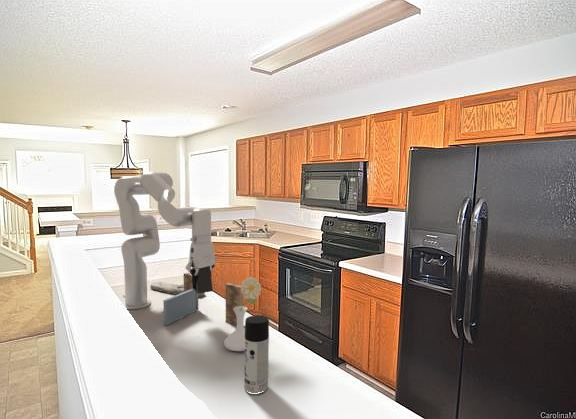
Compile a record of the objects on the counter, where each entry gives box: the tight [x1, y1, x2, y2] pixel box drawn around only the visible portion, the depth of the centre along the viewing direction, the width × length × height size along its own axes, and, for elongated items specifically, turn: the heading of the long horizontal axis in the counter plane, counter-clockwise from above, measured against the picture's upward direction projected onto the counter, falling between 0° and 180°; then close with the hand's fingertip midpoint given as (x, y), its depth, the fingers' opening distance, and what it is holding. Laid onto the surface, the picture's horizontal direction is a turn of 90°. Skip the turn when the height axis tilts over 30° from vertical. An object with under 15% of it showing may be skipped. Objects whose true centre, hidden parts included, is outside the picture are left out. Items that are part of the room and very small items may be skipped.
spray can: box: [243, 315, 270, 393], centre depth 96 cm, size 7×7×20 cm
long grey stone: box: [149, 281, 206, 298], centre depth 181 cm, size 35×5×10 cm
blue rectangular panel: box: [163, 289, 200, 326], centre depth 146 cm, size 20×2×10 cm, turn 155°
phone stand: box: [192, 266, 214, 294], centre depth 141 cm, size 9×6×12 cm, turn 31°
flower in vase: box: [223, 276, 262, 352], centre depth 120 cm, size 13×11×25 cm
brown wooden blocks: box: [183, 272, 244, 326], centre depth 148 cm, size 35×2×16 cm, turn 55°
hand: (201, 282), depth 141 cm, fingers closed on phone stand, 6 cm apart
